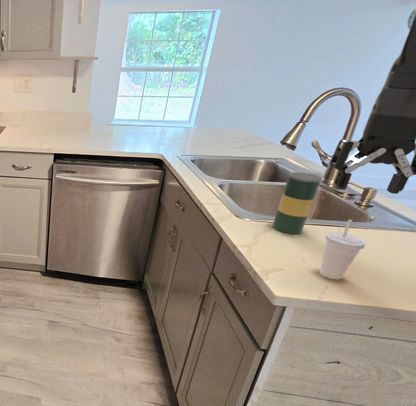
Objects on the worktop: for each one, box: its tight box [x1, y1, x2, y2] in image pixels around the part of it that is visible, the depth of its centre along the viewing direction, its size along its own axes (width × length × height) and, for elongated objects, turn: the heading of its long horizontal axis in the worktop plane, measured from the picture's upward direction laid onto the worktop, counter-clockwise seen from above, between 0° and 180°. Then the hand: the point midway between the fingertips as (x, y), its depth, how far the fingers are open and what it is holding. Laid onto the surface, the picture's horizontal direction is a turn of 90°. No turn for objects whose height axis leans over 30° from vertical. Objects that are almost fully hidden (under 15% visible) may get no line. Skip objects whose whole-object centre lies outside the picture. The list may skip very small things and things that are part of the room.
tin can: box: [272, 171, 322, 235], centre depth 102 cm, size 7×7×16 cm
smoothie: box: [319, 218, 366, 281], centre depth 82 cm, size 6×6×14 cm
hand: (365, 190), depth 76 cm, fingers open, 8 cm apart
